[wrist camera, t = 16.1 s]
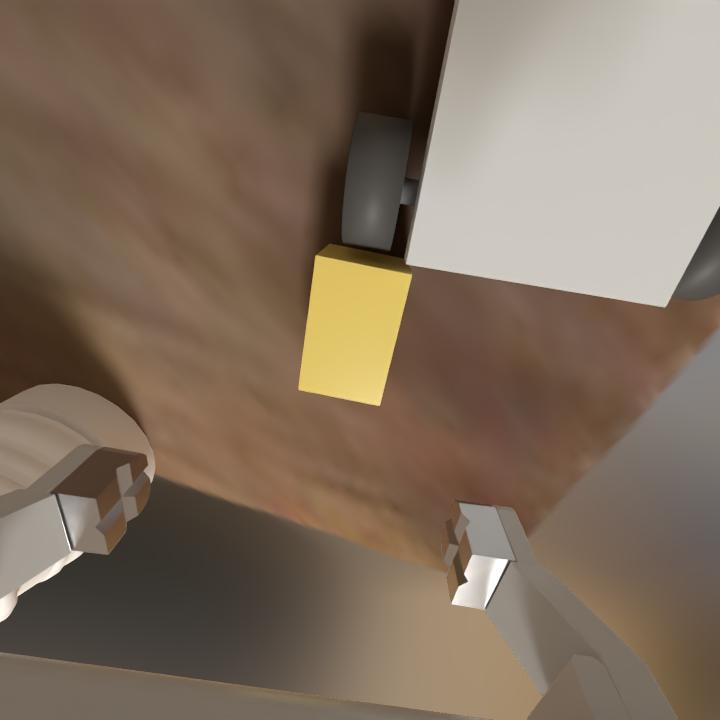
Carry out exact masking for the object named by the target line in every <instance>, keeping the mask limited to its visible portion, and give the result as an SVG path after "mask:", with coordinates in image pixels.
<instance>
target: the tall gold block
mask: <svg viewBox="0 0 720 720" xmlns="http://www.w3.org/2000/svg"><path fill="white" fill-rule="evenodd" d="M411 278H412V273H411V269H410V266H409V265H407V264H406V262H405V259H403V258H398V257H393V256H389V255H384V254H379V253H374V252H369V251H364V250H359V249H354V248H349V247H344V246H339V245H335V244H329V245H328V246H326V247H325V248H324V249H323V250H321V251H320V252H319V253H318V254H317V255H316V256H315V264H314V272H313V280H312V287H311V295H310V303H309V311H308V318H307V326H306V334H305V342H304V349H303V357H302V365H301V373H300V380H299V388H298V390H302V391H307V392H312V393H317V394H322V395H327V396H332V397H337V398H342V399H347V400H352V401H358V402H363V403H368V404H373V405H378V406H380V403H381V399H382V395H383V391H384V387H385V383H386V379H387V375H388V370H389V366H390V362H391V358H392V354H393V350H394V346H395V342H396V338H397V334H398V330H399V326H400V322H401V318H402V314H403V310H404V306H405V302H406V298H407V294H408V290H409V286H410V282H411Z"/></svg>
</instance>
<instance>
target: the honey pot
mask: <svg viewBox="0 0 720 720" xmlns="http://www.w3.org/2000/svg"><path fill="white" fill-rule="evenodd" d="M82 444H91V445H96V446H102V447H110V448H116V449H121V450H127V451H133V452H138V453H143V454H145V455H146V456H147V461H148V466H147V467H146V468H145V470H144V472H145V473H146V474H147V475H148V477H149V478H150V483H151V482H152V480H153V476H154V471H155V461H154V453H153V450H152V448H151V446H150V444H149V441H148V439H147V437H146V435H145V434H144V433H143V431H142V430H141V429H140V427H139V426H138V425H137V423H136V422H135V421H134V420H133V419H132V418H131V417H130V416H129V415H127V414H126V413H125V412H124V411H123V410H122V409H121V408H119V407H118V406H117V405H115V404H113V403H112V402H110V401H108V400H107V399H105V398H103V397H102V396H100V395H98V394H96V393H93V392H90V391H88V390H85V389H82V388H80V387H76V386H70V385H64V384H44V385H37V386H35V387H32V388H30V389H27V390H25V391H22V392H21V393H19V394H17V395H15V396H13V397H11V398H9V399H8V400H6V401H4V402H2V403H0V496H2V495H4V494H7V493H9V492H12V491H14V490H17V489H23V490H25V489H27V488H28V487H29V486H30V485H31V484H33V483H34V482H35V481H36V480H37V479H39V478H40V477H41V476H42V475H43V474H45V473H46V472H47V471H48V470H49V469H51V468H52V467H53V466H54V465H55V464H57V463H58V462H59V461H60V460H61V459H63V458H64V457H65V456H66V455H67V454H69V453H70V452H71V451H72V450H73V449H75V448H76V447H77V446H79V445H82ZM71 551H72V550H71ZM82 553H83V552H81V551H72V552H71V553H70V554H69V555H67V556H66V557H64V558H63V559H61V560H59V561H58V562H56V563H55V564H53V565H52V566H50V567H49V568H47V569H46V570H44V571H43V572H41V573H40V574H38V575H37V576H35V577H34V578H32V579H30V580H29V581H27V582H26V583H24V584H23V585H21V586H20V587H18V588H17V589H15V590H14V591H12V592H11V593H9V594H8V595H6V596H5V597H3V598H1V599H0V622H1V621H3V620H4V619H6V618H7V617H8V616H9V615H10V613H11V612H12V610H13V608H14V606H15V605H16V603H17V596H19V595H20V594H22V593H23V592H25V591H26V590H28V589H29V588H31V587H32V586H34V585H35V584H37V583H38V582H42V581H45V580H47V579H49V578H50V577H52V576H53V575H55V574H56V573H58V572H59V571H60V570H61V568H62V567H63V566H64V565H66V564H68V563H69V562H71V561H73V560H74V559H76V558H77V557H78V556H80V555H81V554H82Z"/></svg>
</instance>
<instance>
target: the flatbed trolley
mask: <svg viewBox="0 0 720 720" xmlns="http://www.w3.org/2000/svg"><path fill="white" fill-rule="evenodd" d="M412 129H413V120H408V119H402V118H396V117H390V116H384V115H378V114H372V113H366V112H359V113H358V115H357V118H356V122H355V126H354V130H353V135H352V140H351V146H350V152H349V159H348V166H347V173H346V182H345V191H344V201H343V214H342V242H343V244H349V245H355V246H361V247H367V248H373V249H379V250H385V251H390V249H391V245H392V241H393V236H394V232H395V227H396V222H397V216H398V211H399V206H400V204H406V205H412V206H414V211H413V216H412V221H411V226H410V231H409V236H408V241H407V246H406V251H405V256H404V258H405V262H406V264H407V265H413V266H419V267H425V268H431V269H437V270H443V271H449V272H455V273H461V274H467V275H474V276H480V277H486V278H492V279H498V280H504V281H510V282H516V283H522V284H528V285H534V286H540V287H546V288H552V289H558V290H564V291H570V292H576V293H582V294H588V295H594V296H600V297H606V298H612V299H618V300H624V301H630V302H636V303H642V304H648V305H654V306H660V307H666V306H667V304H668V302H669V300H670V298H674V299H680V300H687V301H697V300H703V299H707V298H710V297H713V296H715V295H718V294H720V0H455V3H454V8H453V13H452V18H451V23H450V28H449V33H448V39H447V44H446V49H445V54H444V59H443V64H442V69H441V74H440V79H439V84H438V89H437V94H436V99H435V104H434V109H433V114H432V119H431V125H430V130H429V135H428V140H427V145H426V150H425V155H424V160H423V165H422V170H421V175H420V180H415V179H409V178H405V173H406V167H407V161H408V155H409V149H410V143H411V136H412Z"/></svg>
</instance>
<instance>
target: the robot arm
mask: <svg viewBox="0 0 720 720" xmlns="http://www.w3.org/2000/svg"><path fill="white" fill-rule="evenodd" d="M147 466H148V461H147V456H146V455H145V454H143V453H138V452H133V451H127V450H121V449H116V448H110V447H102V446H96V445H91V444H82V445H79V446H77V447H76V448H75V449H73V450H72V451H71V452H70V453H69V454H67V455H66V456H65V457H64V458H63V459H61V460H60V461H59V462H58V463H57V464H55V465H54V466H53V467H52V468H51V469H49V470H48V471H47V472H46V473H45V474H43V475H42V476H41V477H40V478H39V479H37V480H36V481H35V482H34V483H33V484H31V485H30V486H29V487H28V488H27V489H25V490H23V489H17V490H14V491H12V492H9V493H7V494H4V495H2V496H0V599H1V598H3V597H5V596H6V595H8V594H9V593H11V592H12V591H14V590H15V589H17V588H18V587H20V586H21V585H23V584H24V583H26V582H27V581H29V580H30V579H32V578H34V577H35V576H37V575H38V574H40V573H41V572H43V571H44V570H46V569H47V568H49V567H50V566H52V565H53V564H55V563H56V562H58V561H59V560H61V559H63V558H64V557H66V556H67V555H69V554H70V553H71V552H72V551H81V552H90V553H99V554H109V553H110V552H111V550H112V549H113V548H114V546H115V545H116V544H117V543H118V541H119V540H120V538H121V537H122V536H123V535H124V533H125V532H126V530H127V529H126V522H127V521H129V520H130V519H132V518H134V517H136V516H138V514H139V513H140V512H141V510H142V509H143V508H144V506H145V504H146V502H147V499H148V497H149V494H150V488H151V483H150V478H149V477H148V475H147V474H146V473H145V472H144V470H145V468H146V467H147ZM450 514H451V519H449V520H448V521H446V522H445V525H444V528H443V531H442V541H441V544H442V555H443V560H444V562H445V563H446V564H447V565H448V566H449V568H450V569H449V571H448V574H447V583H448V588H449V594H450V600H451V604H455V605H461V606H466V607H472V608H477V609H483V610H486V611H485V612H486V614H487V615H488V616H489V618H490V620H491V621H492V622H493V624H494V625H495V627H496V628H497V630H498V631H499V633H500V634H501V636H502V637H503V639H504V640H505V642H506V643H507V644H508V646H509V648H510V649H511V650H512V652H513V653H514V655H515V656H516V658H517V659H518V661H519V662H520V664H521V665H522V667H523V668H524V669H525V671H526V672H527V674H528V675H529V677H530V678H531V680H532V681H533V683H534V684H535V686H536V687H537V689H538V690H539V692H540V693H541V694H542V696H543V697H542V698H541V699H540V701H539V702H538V704H537V705H536V706H535V708H534V709H533V710H532V712H531V713H530V715H529V716H528V718H527V720H678V718H677V716H676V715H675V713H674V711H673V709H672V708H671V706H670V704H669V702H668V701H667V699H666V697H665V695H664V694H663V692H662V690H661V688H660V687H659V685H658V683H657V681H656V680H655V678H654V677H653V674H652V673H651V671H650V669H649V667H648V666H647V664H646V662H644V660H642V659H641V658H640V657H639V656H638V655H637V654H636V653H635V652H634V651H633V650H632V649H631V648H630V647H629V646H628V645H627V644H626V643H625V642H624V641H623V640H621V638H619V637H618V636H617V635H616V634H615V633H614V632H613V631H612V630H611V629H610V628H609V627H608V626H607V625H606V624H605V623H604V622H603V621H602V620H600V619H599V618H598V617H597V616H596V615H595V614H594V613H593V612H592V611H591V610H590V609H589V608H588V607H587V606H586V605H585V604H584V603H583V602H582V601H581V600H580V599H579V598H577V596H575V595H574V594H573V593H572V592H571V591H570V590H569V589H568V588H567V587H566V586H565V585H564V584H563V583H562V582H561V581H560V580H559V579H558V578H557V577H556V576H555V575H554V574H552V573H551V572H550V571H549V570H548V569H547V568H546V567H545V566H540V565H539V564H538V563H537V560H536V557H535V555H534V553H533V551H532V548H531V546H530V544H529V542H528V539H527V537H526V535H525V532H524V530H523V528H522V526H521V523H520V521H519V519H518V517H517V514H516V512H515V511H514V510H513V509H512V508H510V507H503V506H496V505H488V504H481V503H474V502H466V501H459V500H455V501H454V502H453V503H452V505H451V508H450ZM71 550H72V551H71ZM0 720H491V719H484V718H476V717H469V716H461V715H455V714H447V713H440V712H433V711H425V710H418V709H410V708H403V707H395V706H389V705H382V704H374V703H367V702H360V701H352V700H345V699H338V698H330V697H323V696H316V695H309V694H301V693H293V692H286V691H279V690H272V689H265V688H257V687H250V686H243V685H236V684H228V683H221V682H214V681H206V680H199V679H192V678H184V677H177V676H169V675H162V674H155V673H148V672H140V671H132V670H126V669H118V668H111V667H104V666H96V665H88V664H81V663H74V662H66V661H59V660H52V659H45V658H37V657H30V656H23V655H15V654H7V653H0Z"/></svg>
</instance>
